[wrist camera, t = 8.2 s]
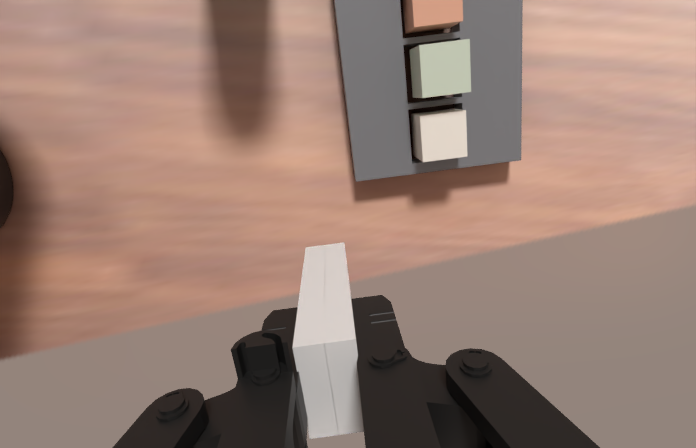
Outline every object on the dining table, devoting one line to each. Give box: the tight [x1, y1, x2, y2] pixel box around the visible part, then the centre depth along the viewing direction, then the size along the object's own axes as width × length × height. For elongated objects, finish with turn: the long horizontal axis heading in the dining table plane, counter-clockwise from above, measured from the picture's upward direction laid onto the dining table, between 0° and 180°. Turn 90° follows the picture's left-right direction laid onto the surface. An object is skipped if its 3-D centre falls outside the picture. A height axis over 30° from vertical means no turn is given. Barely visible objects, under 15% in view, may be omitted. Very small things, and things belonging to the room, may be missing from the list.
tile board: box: [333, 0, 522, 182], centre depth 38 cm, size 16×18×2 cm
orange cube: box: [403, 0, 463, 34], centre depth 34 cm, size 4×4×4 cm
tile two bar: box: [410, 39, 471, 98], centre depth 35 cm, size 4×4×4 cm
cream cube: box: [411, 109, 467, 162], centre depth 38 cm, size 4×4×4 cm
